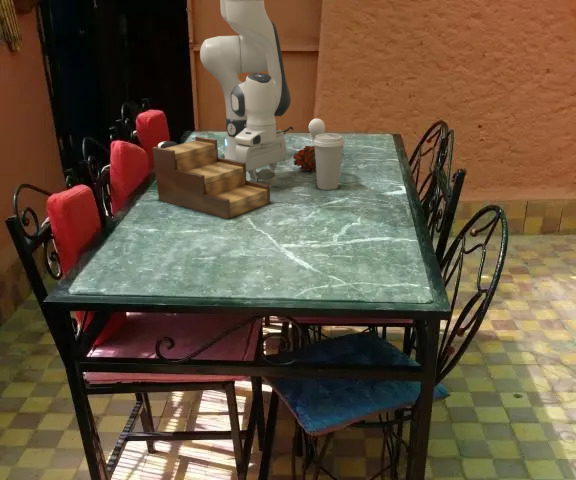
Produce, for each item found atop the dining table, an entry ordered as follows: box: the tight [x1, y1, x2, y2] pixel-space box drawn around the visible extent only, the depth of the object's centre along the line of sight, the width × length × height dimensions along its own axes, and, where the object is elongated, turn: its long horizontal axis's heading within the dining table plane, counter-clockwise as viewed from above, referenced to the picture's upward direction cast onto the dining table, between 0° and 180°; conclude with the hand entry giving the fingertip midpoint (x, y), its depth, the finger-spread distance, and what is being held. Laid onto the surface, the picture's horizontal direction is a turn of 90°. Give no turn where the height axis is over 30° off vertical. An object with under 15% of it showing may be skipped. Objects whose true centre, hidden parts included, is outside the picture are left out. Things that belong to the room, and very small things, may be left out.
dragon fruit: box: [292, 145, 316, 172], centre depth 212 cm, size 8×8×12 cm
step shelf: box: [152, 135, 271, 220], centre depth 182 cm, size 18×28×15 cm, turn 51°
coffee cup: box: [312, 132, 346, 191], centre depth 193 cm, size 10×10×15 cm
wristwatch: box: [248, 167, 279, 187], centre depth 198 cm, size 9×6×5 cm
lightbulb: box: [307, 118, 326, 146], centre depth 235 cm, size 6×6×11 cm
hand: (262, 180), depth 198 cm, fingers closed on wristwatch, 6 cm apart
